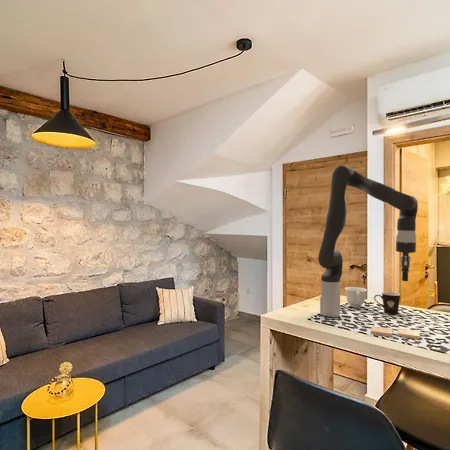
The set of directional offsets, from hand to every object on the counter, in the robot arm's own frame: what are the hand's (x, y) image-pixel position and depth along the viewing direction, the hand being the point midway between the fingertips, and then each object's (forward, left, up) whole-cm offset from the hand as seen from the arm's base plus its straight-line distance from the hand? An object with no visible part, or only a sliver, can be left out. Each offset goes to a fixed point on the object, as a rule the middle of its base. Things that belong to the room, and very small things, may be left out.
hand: (404, 280), depth 140 cm
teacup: (-23, +33, -22) cm, 46 cm away
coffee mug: (-7, +30, -22) cm, 38 cm away
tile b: (+1, -2, -21) cm, 21 cm away
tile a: (-9, -4, -21) cm, 23 cm away
